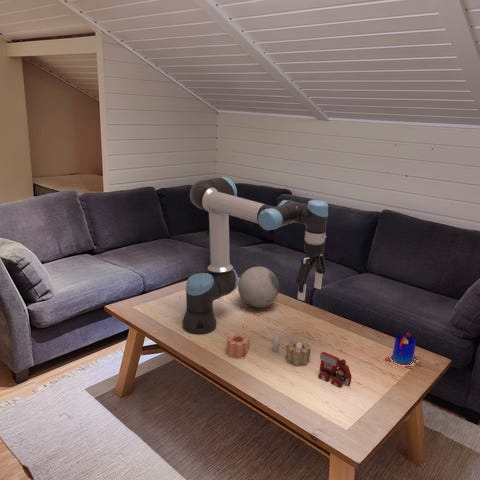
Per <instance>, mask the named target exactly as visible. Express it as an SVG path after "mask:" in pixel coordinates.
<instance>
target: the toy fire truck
mask: <svg viewBox="0 0 480 480" xmlns="http://www.w3.org/2000/svg"><path fill="white" fill-rule="evenodd" d="M319 358H320V364H319V374H318V376H317V378H318V379H320V380H322V381H324V382H327V383H328V382H330V384H331V385H333V386H334V387H337V388H338V389H339V388H342V387H343V385H344V386H347V387H348V386H350V385H351V383H352V373H351V370H350V367H349V365H348V364H347V362H346V359H343V358H342V359H340V358H339V357H338V356H335V355H333V354H330V353H328V352H327V351H326V352H325V351H322V352H321V353H320V356H319Z"/></svg>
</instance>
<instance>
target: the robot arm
mask: <svg viewBox="0 0 480 480" xmlns="http://www.w3.org/2000/svg"><path fill="white" fill-rule="evenodd" d="M237 195H238V189H237V187H236V184H235V183H234V181H232V179H230V178H229V177H225V176H219V177H213V178H208V179H203V180H199V181H197V182H195V183H194V184H193V185H192V187H191V188H190V191H189V198H190V201H191V203H192V204H193V206H195V207H196V208H198V209H199V210H203V211H206V212H208V220H209V221H208V222H209V224H208V225H209V248H210V249H209V250H210V251H209V253H210V255H209V256H210V264H209V265H208V266H207V272H200V273H194V274H192V275H190V276H189V277H188V278H187V281H186V286H185V297H186V298H185V301H186V302H185V303H186V305H185V307H186V309H185V310H186V311H185V313H184V317H183V319H182V324H181V325H182V329H183V330H184V331H185V332H187V333H188V334H192V335H207V334H209V333H211V332H214V331H215V330H216V328H217V319H216V317H215V313H214V309H213V308H214V302H215V301H216V300H219V299H220V298H222V297H224V296H228V295H230V294H231V293H233V292H234V291H235V290H237V289H238V283H239V276H238V273H237V272H236V270H235V269H234V266H233V265H232V264H231V263H230V262H231V260H230V224H229V222H230V221H229V219H230V218H229V217H230V216H232V217H234V218H235V217H236V218H238V219H242V220H246V221H249V222H252V223H255V224H258V225H259V227H261V228H262V229H263V230H264V231H273V230H276V229H279V228H281V227H284V226H287V225H289V224H293V223H297V224H300V225H305V232H304V242H303V251H304V253H306V256H305V257H302V258H301V263H300V267H299V270H298V273H297V277H296V280H295V284H297V285H298V286H297V287H298V288H297V289H298V290H297V300H300V301H303V302H304V301H306V290H307V284H306V282H307V280H308V278H309V275H310V273H311V271H312V270H313V269H314V268H315V270H316V272H315V274H314V275H315V276H314V284H313V288H314V289H318V290H321V289H322V282H323V274H326V269H327V266H326V260H325V243H326V238H327V235H326V234H327V224H328V217H329V204H328V203H327V201H325V200H318V199H312V200H309V201H308V202H307V204H306V203H302V202H296V201H294V200H285V199H284V200H281V202H279V204H278V205H277V206H274V205H268V204H266V203H262V202H257V201H254V200H250V199H247V198H243V197H240V196H237Z"/></svg>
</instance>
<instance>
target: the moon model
mask: <svg viewBox="0 0 480 480" xmlns="http://www.w3.org/2000/svg"><path fill="white" fill-rule="evenodd" d="M237 291H238V293H239V297H240V298H241V300H242V301H243V303H245V304H247V305H248V306H249V307H252V308H257V309H258V308H260V309H261V308H265V307H268V306H270V305H271V304H272V303H273V302H275V300H276V299H277V297H278V295H279V292H280V283H279V280H278V277H277V276H276V275H275V273H274V272H273V271H272V270H271V269H269V268H267V267H265V266H253V267H250V268H248V269H247V270H245V271H244V272H243V273H242V274H241V276H240V278H239V279H238V285H237Z"/></svg>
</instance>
